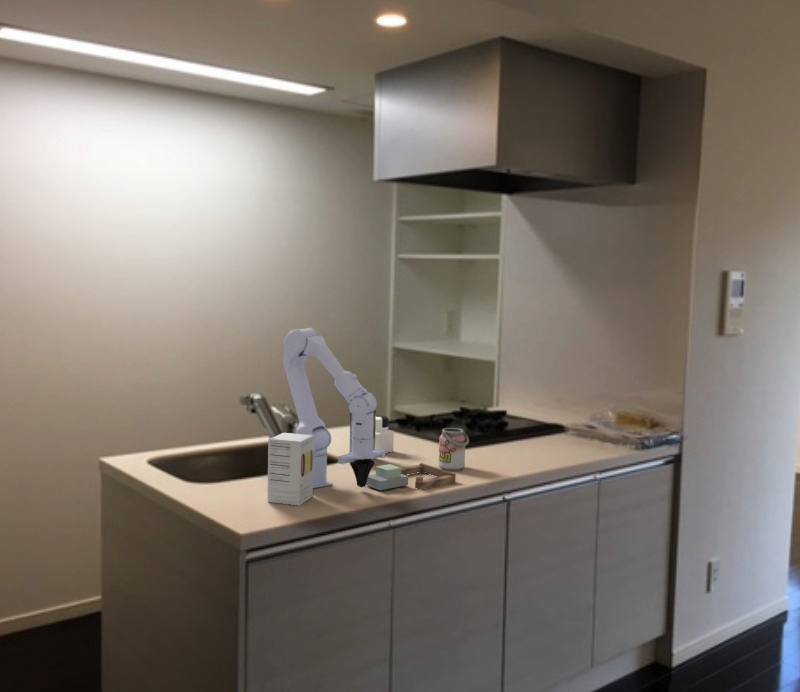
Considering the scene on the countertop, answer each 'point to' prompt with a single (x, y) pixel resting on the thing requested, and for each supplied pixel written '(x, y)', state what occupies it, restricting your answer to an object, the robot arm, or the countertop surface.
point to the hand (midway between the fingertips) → (361, 486)
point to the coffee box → (373, 430)
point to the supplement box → (290, 468)
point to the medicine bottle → (383, 435)
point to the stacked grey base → (387, 477)
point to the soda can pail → (452, 449)
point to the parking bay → (441, 478)
